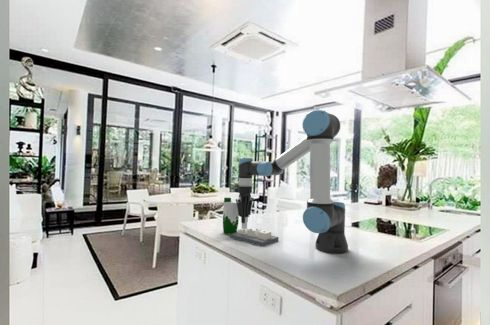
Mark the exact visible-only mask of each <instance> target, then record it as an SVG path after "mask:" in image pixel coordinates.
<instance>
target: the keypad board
mask: <svg viewBox="0 0 490 325" xmlns="http://www.w3.org/2000/svg"><path fill="white" fill-rule="evenodd" d="M229 239H233V240H237V241H240V242H244V243H249V244H252V245H255V246H260V247H265V246H267V245H270V244H273V243H276V242H279V236H275V235H272V234H271V239H268V240H263V239H259V238H258V237H251V236H247V234H246V235H242V234H238V231H237V232H236V233H232V234H229Z"/></svg>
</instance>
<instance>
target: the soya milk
mask: <svg viewBox="0 0 490 325" xmlns="http://www.w3.org/2000/svg"><path fill="white" fill-rule="evenodd" d="M223 198H224V199H223V207H222V209H223V210H222V230H223V234H227V235H230V234H232V233H236V232H238V227H239V217H240V216H239V215H238V208H237V203H236V200H232V198H231V197H223Z"/></svg>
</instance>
